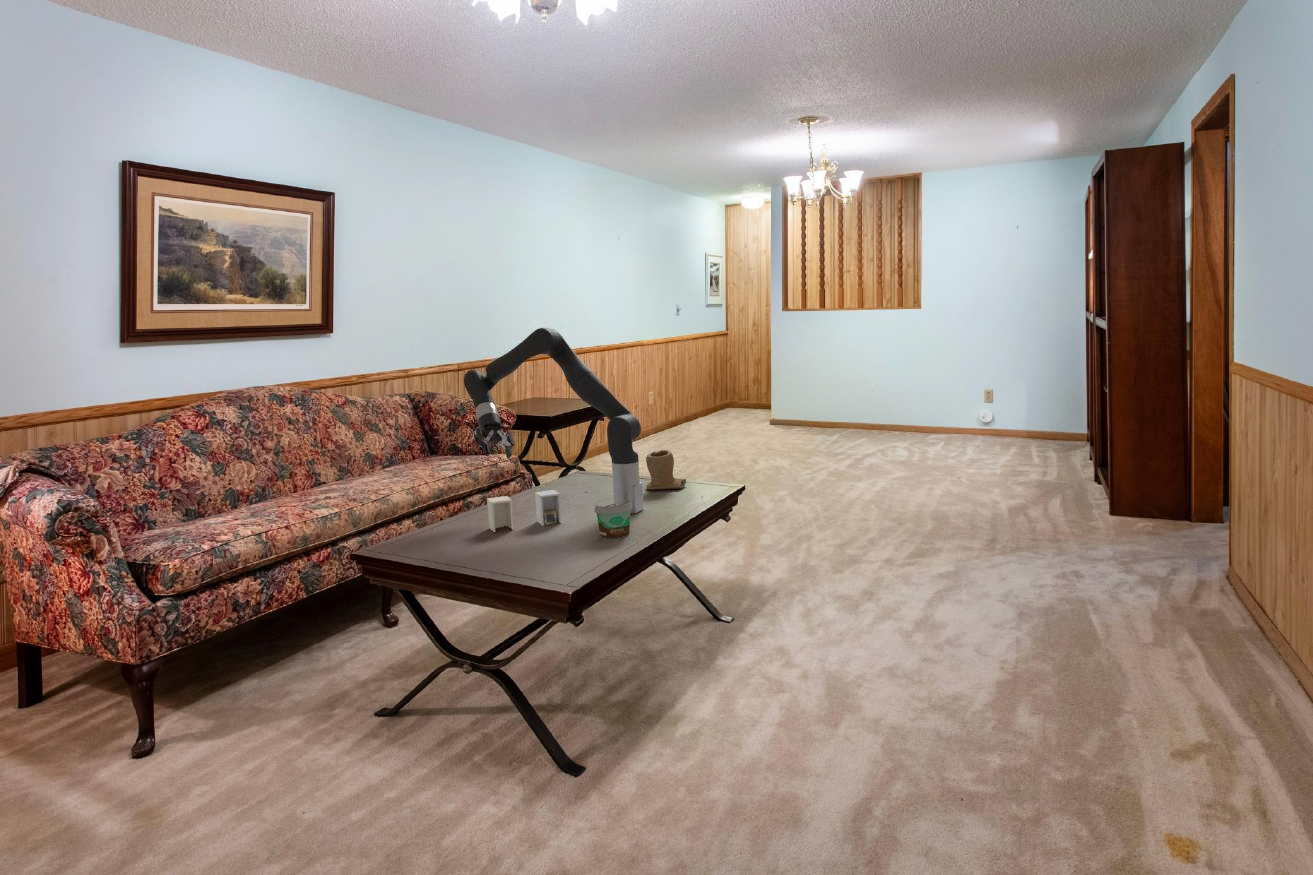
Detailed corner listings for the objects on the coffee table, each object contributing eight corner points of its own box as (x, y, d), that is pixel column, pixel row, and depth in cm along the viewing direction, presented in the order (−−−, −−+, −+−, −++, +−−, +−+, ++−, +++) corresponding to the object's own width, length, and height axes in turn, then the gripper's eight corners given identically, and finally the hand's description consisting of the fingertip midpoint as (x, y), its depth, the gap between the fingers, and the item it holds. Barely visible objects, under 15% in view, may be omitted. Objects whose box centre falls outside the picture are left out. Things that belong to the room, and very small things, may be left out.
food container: (604, 541, 255) (602, 509, 253) (595, 537, 260) (593, 505, 259) (640, 534, 260) (639, 503, 259) (631, 530, 266) (630, 499, 264)
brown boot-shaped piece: (644, 493, 320) (642, 453, 318) (648, 486, 332) (646, 448, 330) (684, 492, 318) (682, 452, 316) (686, 485, 330) (685, 447, 328)
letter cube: (553, 520, 284) (552, 509, 284) (556, 523, 280) (556, 511, 280) (541, 522, 283) (541, 510, 282) (545, 524, 279) (544, 513, 278)
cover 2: (556, 518, 286) (554, 489, 284) (561, 523, 280) (559, 493, 278) (536, 521, 283) (534, 492, 282) (542, 525, 277) (540, 495, 276)
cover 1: (509, 525, 280) (507, 495, 278) (513, 529, 274) (511, 499, 272) (489, 528, 277) (486, 498, 276) (493, 532, 271) (491, 502, 270)
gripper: (475, 409, 293) (485, 448, 285) (510, 414, 302) (521, 451, 294) (465, 422, 297) (475, 460, 289) (500, 426, 307) (511, 463, 299)
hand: (499, 456), depth 292 cm, fingers open, 8 cm apart
